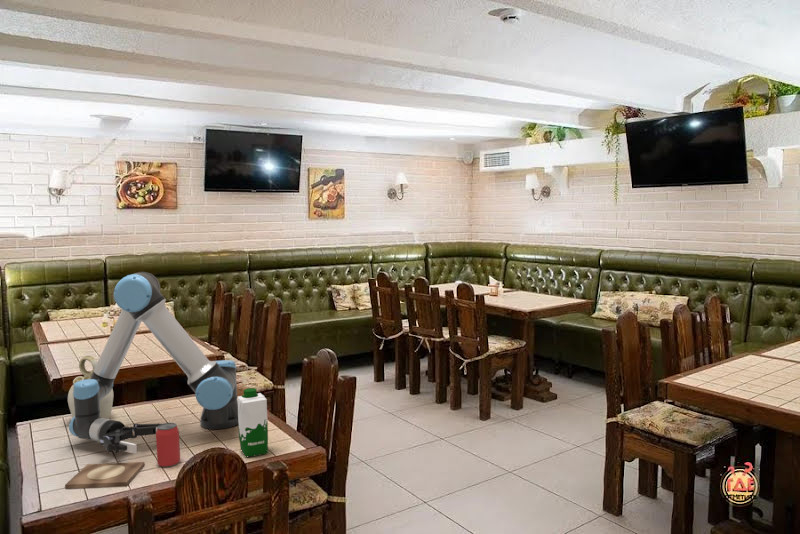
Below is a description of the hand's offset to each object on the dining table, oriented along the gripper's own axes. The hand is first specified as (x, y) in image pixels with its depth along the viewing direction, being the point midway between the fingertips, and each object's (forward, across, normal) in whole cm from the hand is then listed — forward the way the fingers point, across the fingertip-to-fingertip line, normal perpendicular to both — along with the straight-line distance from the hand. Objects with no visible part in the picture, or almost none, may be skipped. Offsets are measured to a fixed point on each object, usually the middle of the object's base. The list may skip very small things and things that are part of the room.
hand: (154, 441), depth 187 cm
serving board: (-4, +14, -6) cm, 16 cm away
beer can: (+5, -1, -7) cm, 8 cm away
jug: (-53, -17, -7) cm, 56 cm away
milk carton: (+24, -18, -7) cm, 31 cm away
